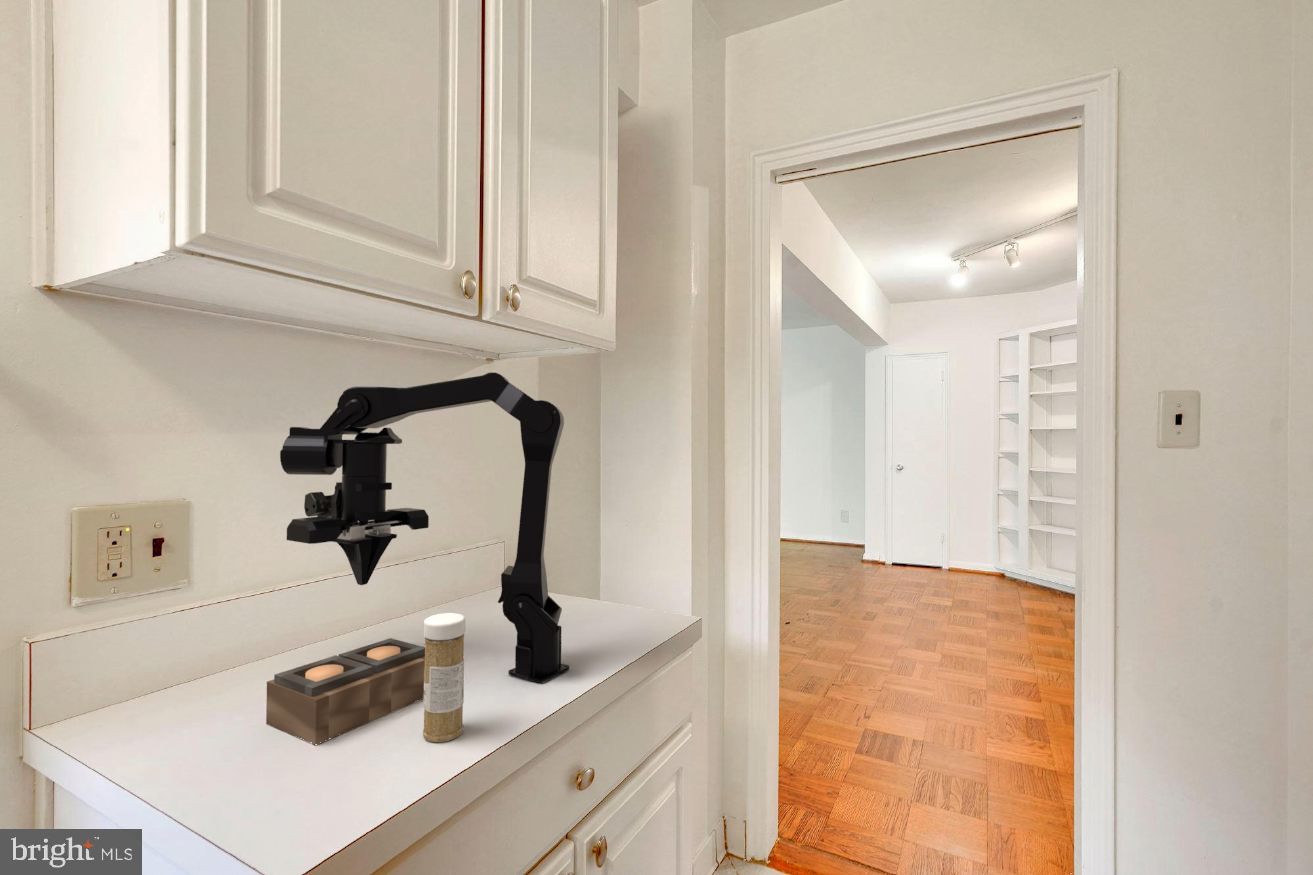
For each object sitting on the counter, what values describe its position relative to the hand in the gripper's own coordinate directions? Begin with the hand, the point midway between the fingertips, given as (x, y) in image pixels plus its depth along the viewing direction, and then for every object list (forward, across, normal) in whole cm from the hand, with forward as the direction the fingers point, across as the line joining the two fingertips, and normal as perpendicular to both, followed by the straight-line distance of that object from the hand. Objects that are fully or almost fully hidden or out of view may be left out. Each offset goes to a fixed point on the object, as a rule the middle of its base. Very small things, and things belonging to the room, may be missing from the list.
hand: (362, 584), depth 86 cm
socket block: (+13, +7, +9) cm, 17 cm away
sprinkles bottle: (+13, +6, +24) cm, 28 cm away
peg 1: (+13, +11, +9) cm, 19 cm away
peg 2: (+13, +3, +9) cm, 16 cm away
